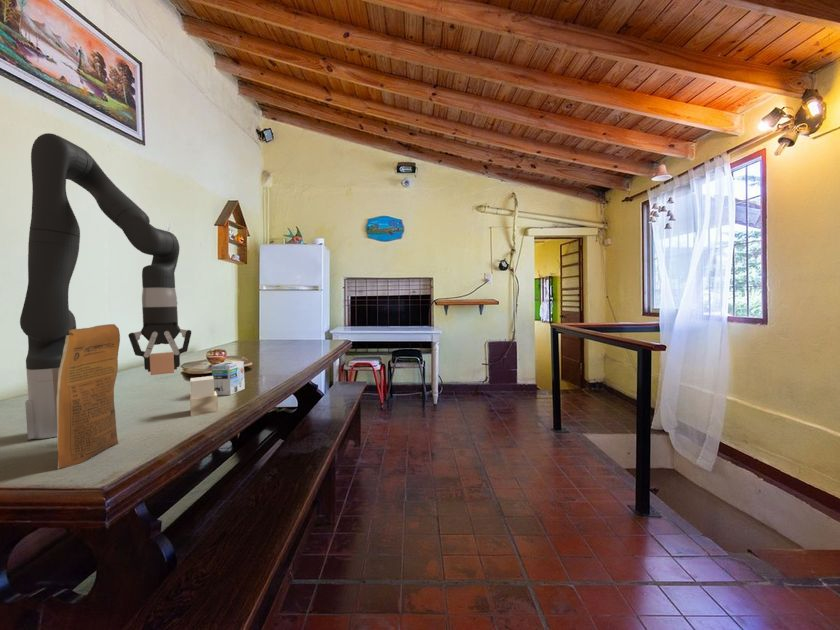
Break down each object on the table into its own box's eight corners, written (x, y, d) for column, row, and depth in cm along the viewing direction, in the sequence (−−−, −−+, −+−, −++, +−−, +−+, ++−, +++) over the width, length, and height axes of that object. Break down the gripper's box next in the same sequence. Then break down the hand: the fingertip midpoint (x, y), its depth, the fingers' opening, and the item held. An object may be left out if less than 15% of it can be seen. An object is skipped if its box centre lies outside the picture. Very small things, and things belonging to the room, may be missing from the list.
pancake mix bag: (137, 436, 93) (131, 323, 92) (77, 470, 74) (68, 328, 73) (107, 438, 92) (100, 324, 91) (38, 473, 73) (29, 329, 72)
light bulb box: (230, 395, 132) (229, 365, 132) (212, 396, 133) (210, 365, 132) (245, 388, 143) (244, 360, 143) (228, 388, 143) (226, 360, 143)
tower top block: (191, 398, 109) (190, 381, 109) (191, 394, 114) (190, 378, 114) (214, 395, 112) (213, 378, 112) (213, 391, 118) (212, 375, 117)
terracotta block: (150, 375, 95) (149, 355, 95) (152, 372, 100) (151, 353, 99) (174, 372, 98) (173, 353, 98) (174, 370, 102) (173, 351, 102)
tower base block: (190, 416, 109) (190, 399, 109) (190, 410, 115) (189, 394, 115) (218, 412, 113) (217, 395, 112) (216, 406, 118) (215, 391, 118)
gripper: (123, 306, 91) (126, 375, 92) (192, 304, 99) (195, 369, 99) (127, 306, 98) (130, 371, 98) (191, 305, 105) (194, 365, 106)
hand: (163, 369), depth 99 cm, fingers closed on terracotta block, 5 cm apart
